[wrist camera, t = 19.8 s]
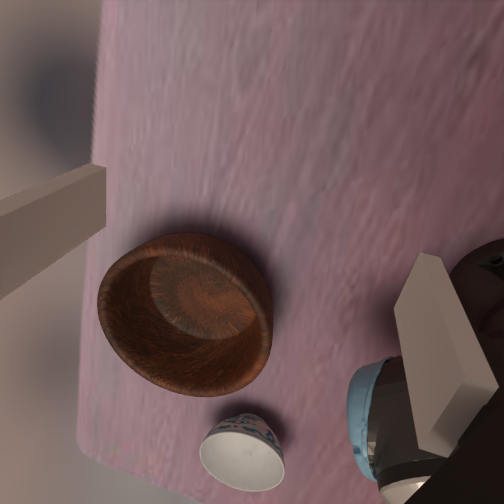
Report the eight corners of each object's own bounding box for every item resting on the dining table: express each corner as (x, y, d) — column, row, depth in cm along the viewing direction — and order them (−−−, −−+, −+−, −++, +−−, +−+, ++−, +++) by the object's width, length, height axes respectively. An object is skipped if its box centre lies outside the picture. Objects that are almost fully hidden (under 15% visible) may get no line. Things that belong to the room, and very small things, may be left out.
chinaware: (207, 437, 77) (193, 473, 70) (220, 385, 70) (206, 420, 63) (279, 462, 76) (272, 502, 69) (300, 413, 68) (294, 452, 62)
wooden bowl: (120, 211, 58) (78, 239, 49) (284, 223, 53) (272, 257, 44) (142, 342, 69) (112, 384, 60) (280, 362, 64) (269, 411, 55)
